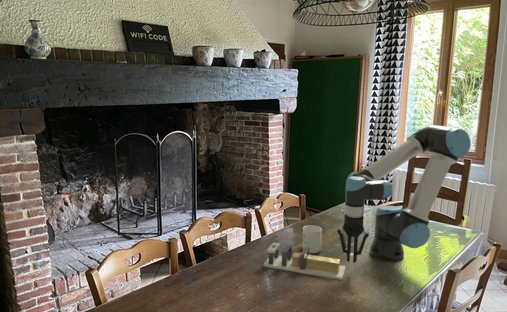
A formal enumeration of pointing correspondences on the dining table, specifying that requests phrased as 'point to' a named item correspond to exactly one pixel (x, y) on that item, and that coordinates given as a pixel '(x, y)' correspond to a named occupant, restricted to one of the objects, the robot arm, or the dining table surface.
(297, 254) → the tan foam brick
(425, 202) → the robot arm
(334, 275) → the slab
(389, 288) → the dining table surface
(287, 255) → the collars
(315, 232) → the mug
